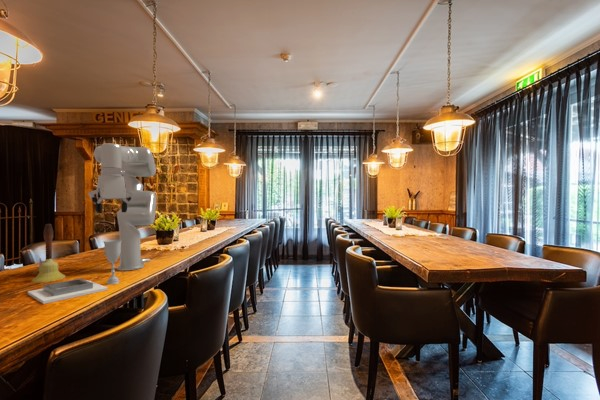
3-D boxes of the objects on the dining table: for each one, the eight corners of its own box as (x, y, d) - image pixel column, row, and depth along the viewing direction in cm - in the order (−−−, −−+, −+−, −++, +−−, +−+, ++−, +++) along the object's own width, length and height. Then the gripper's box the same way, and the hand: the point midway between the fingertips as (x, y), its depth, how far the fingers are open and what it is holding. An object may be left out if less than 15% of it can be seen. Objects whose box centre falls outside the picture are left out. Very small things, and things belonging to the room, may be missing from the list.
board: (88, 282, 134) (88, 280, 134) (107, 290, 122) (107, 287, 122) (27, 293, 118) (27, 291, 118) (43, 304, 106) (43, 301, 106)
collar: (81, 283, 129) (80, 278, 129) (92, 288, 121) (92, 283, 121) (43, 290, 119) (43, 285, 119) (53, 296, 112) (53, 290, 112)
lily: (45, 278, 147) (57, 259, 151) (17, 270, 144) (30, 250, 148) (53, 280, 158) (64, 262, 162) (27, 273, 155) (39, 254, 159)
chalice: (99, 283, 132) (99, 241, 132) (115, 280, 138) (115, 239, 138) (110, 285, 128) (109, 242, 128) (126, 281, 134) (125, 240, 134)
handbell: (24, 283, 134) (24, 225, 134) (40, 276, 145) (39, 223, 145) (58, 281, 137) (57, 224, 137) (70, 274, 149) (70, 222, 149)
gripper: (128, 174, 142) (129, 211, 142) (84, 172, 128) (85, 213, 128) (136, 173, 138) (136, 212, 138) (92, 170, 124) (92, 213, 124)
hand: (112, 212), depth 133 cm, fingers open, 9 cm apart
